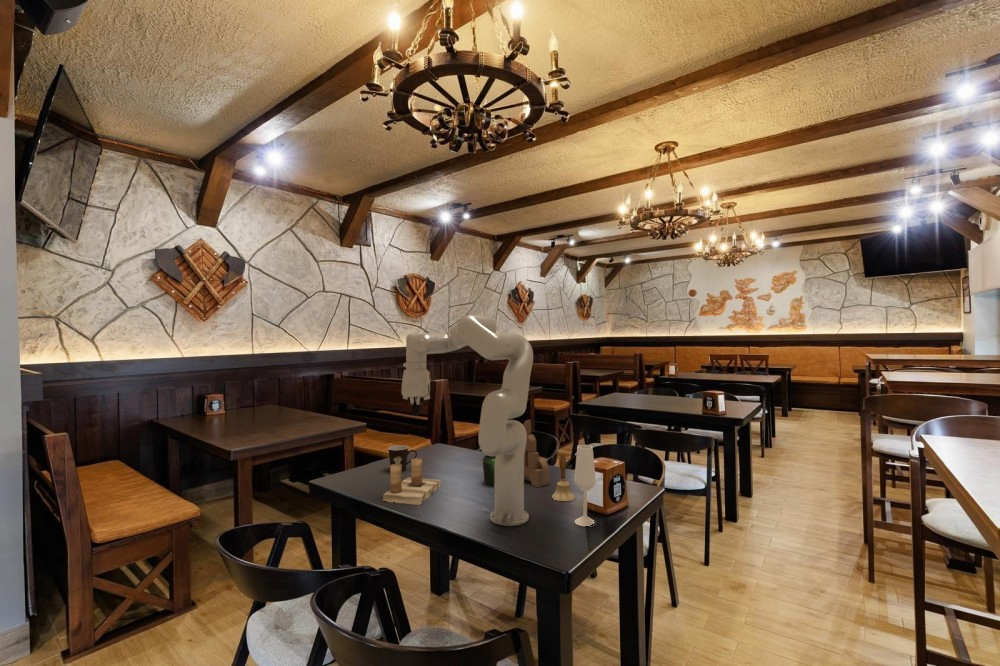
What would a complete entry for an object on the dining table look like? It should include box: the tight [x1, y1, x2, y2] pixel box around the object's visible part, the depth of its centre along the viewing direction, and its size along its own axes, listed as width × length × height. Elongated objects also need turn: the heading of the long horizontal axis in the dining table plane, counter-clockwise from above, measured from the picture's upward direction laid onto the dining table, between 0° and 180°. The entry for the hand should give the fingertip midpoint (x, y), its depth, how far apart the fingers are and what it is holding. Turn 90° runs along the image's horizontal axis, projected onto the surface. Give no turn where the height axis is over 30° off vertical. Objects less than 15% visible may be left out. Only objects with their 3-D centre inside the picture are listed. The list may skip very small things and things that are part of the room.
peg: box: [410, 457, 423, 487], centre depth 175 cm, size 4×4×12 cm
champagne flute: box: [573, 444, 597, 527], centre depth 146 cm, size 7×7×24 cm
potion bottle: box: [482, 454, 496, 487], centre depth 184 cm, size 8×8×18 cm
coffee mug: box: [387, 444, 418, 473], centre depth 201 cm, size 12×9×10 cm
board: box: [382, 464, 441, 506], centre depth 172 cm, size 20×14×12 cm
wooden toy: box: [522, 419, 550, 488], centre depth 187 cm, size 16×7×25 cm, turn 39°
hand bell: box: [551, 453, 576, 502], centre depth 168 cm, size 8×8×16 cm
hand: (416, 414), depth 175 cm, fingers closed
